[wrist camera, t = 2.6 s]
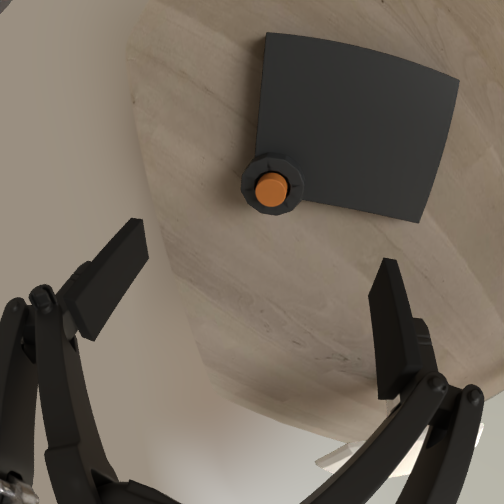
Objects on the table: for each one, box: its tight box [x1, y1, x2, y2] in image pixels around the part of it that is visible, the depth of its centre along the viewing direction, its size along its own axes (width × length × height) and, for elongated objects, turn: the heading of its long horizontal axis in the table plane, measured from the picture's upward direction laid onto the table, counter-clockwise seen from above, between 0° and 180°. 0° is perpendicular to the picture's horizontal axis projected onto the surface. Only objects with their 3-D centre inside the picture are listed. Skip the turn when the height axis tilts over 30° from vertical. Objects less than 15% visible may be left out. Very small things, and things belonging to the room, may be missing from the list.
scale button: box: [255, 173, 287, 207], centre depth 26 cm, size 3×3×2 cm
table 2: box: [315, 394, 484, 478], centre depth 39 cm, size 28×28×17 cm
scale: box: [241, 32, 460, 224], centre depth 23 cm, size 18×16×4 cm
